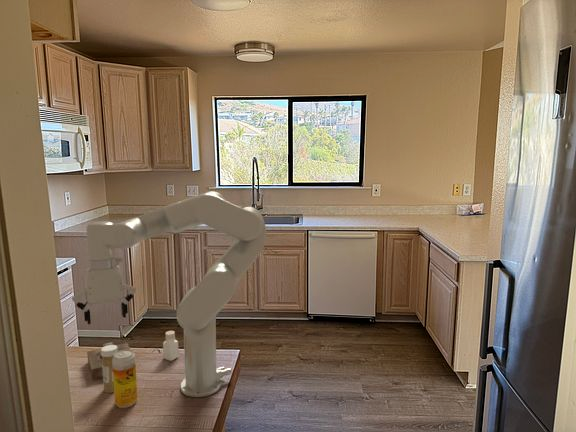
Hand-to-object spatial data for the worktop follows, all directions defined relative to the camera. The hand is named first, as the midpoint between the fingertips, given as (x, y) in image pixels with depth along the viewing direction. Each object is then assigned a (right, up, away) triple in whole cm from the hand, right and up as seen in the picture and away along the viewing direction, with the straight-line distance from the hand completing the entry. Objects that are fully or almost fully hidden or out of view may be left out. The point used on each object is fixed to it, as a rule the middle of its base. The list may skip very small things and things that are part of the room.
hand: (106, 319), depth 119 cm
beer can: (+7, -23, -4) cm, 25 cm away
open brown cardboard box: (-6, -20, +17) cm, 27 cm away
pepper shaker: (+13, -20, +22) cm, 32 cm away
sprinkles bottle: (0, -22, +3) cm, 23 cm away
